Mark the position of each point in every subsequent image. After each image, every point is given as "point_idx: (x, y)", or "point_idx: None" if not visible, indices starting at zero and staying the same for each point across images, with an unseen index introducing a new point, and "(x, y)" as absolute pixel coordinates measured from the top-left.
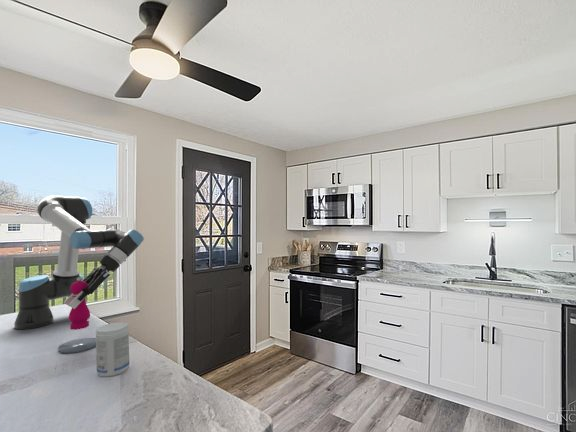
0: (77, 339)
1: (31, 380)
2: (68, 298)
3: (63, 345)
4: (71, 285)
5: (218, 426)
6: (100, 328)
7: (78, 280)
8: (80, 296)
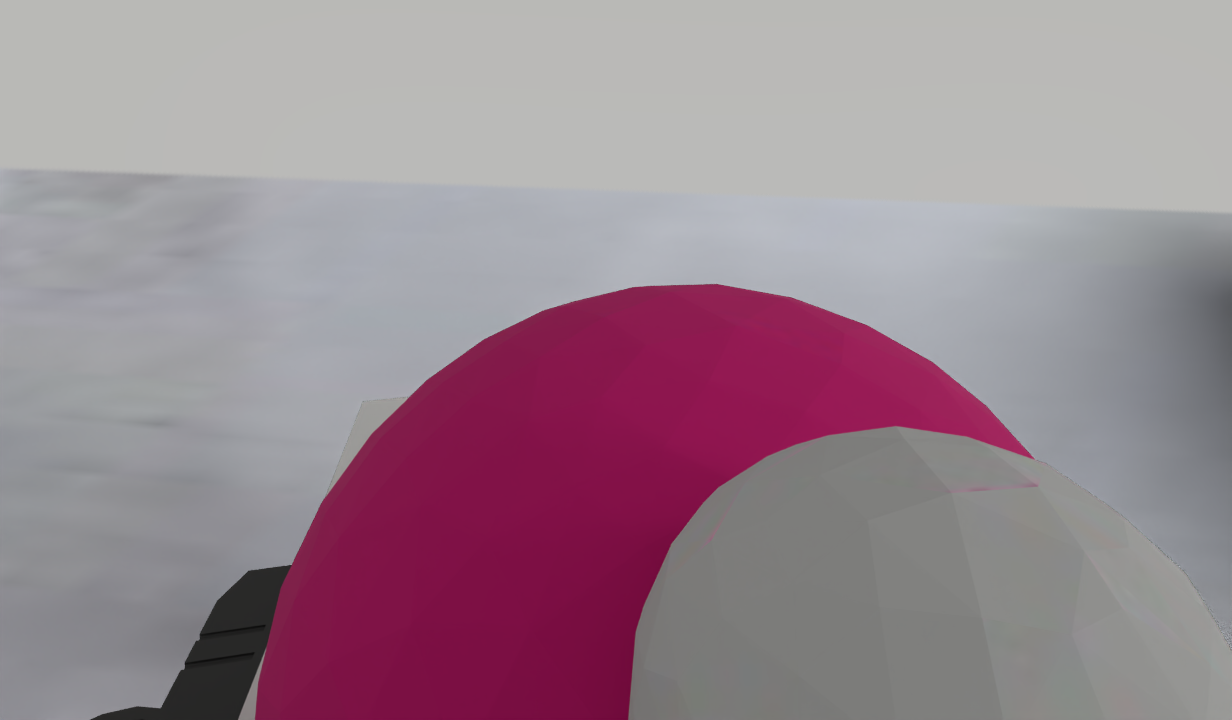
0: None
1: (70, 284)
2: None
3: None
4: (659, 287)
5: None
6: None
7: (649, 599)
8: (215, 647)
